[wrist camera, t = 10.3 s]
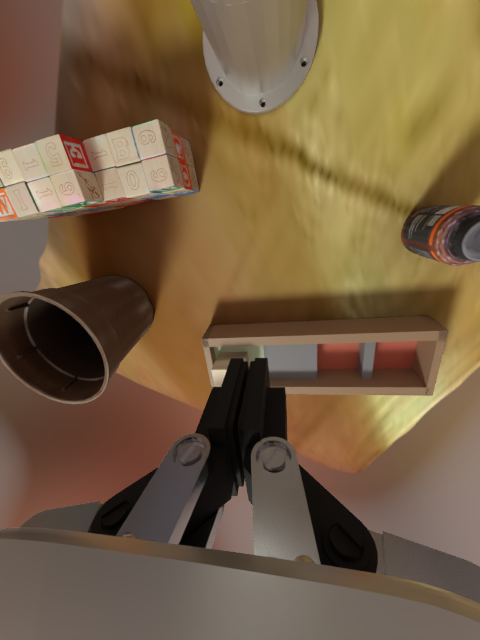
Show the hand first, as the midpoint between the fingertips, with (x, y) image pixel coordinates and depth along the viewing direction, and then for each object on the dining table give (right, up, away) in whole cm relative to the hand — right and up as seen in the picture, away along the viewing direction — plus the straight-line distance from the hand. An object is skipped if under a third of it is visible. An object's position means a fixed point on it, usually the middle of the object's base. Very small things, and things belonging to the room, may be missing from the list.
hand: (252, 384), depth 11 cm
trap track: (+12, -2, +31) cm, 34 cm away
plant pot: (-22, +5, +34) cm, 41 cm away
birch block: (-1, -5, +32) cm, 32 cm away
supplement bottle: (+24, +15, +22) cm, 36 cm away
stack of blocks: (-17, +23, +25) cm, 38 cm away
